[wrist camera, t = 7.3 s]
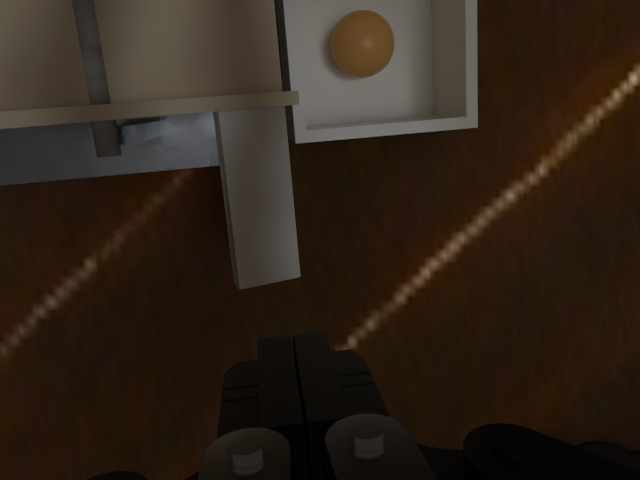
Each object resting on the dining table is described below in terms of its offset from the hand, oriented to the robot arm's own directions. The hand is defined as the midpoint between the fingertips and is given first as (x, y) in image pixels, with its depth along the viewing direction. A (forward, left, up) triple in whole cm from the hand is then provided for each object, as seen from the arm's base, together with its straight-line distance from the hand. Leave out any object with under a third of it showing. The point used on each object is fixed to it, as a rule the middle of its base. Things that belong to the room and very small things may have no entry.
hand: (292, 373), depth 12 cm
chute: (+7, -5, -15) cm, 18 cm away
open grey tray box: (-7, -9, -22) cm, 25 cm away
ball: (-6, -9, -20) cm, 23 cm away
